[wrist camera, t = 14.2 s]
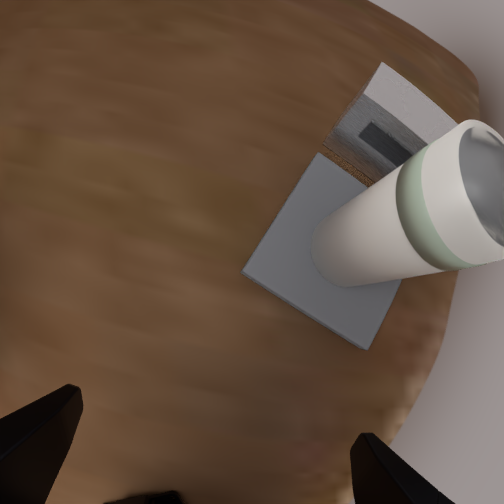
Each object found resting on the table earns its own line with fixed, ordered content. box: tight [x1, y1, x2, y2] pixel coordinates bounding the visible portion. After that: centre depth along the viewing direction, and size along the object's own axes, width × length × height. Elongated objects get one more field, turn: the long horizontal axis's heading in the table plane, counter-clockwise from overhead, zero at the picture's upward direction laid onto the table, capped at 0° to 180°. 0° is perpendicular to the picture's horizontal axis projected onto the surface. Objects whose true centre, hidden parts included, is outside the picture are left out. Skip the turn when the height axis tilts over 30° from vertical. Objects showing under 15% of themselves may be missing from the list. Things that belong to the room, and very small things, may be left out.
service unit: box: [323, 62, 458, 183], centre depth 21 cm, size 4×10×7 cm, turn 58°
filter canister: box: [311, 120, 504, 287], centre depth 15 cm, size 5×5×13 cm
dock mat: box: [240, 152, 402, 350], centre depth 22 cm, size 10×10×1 cm
